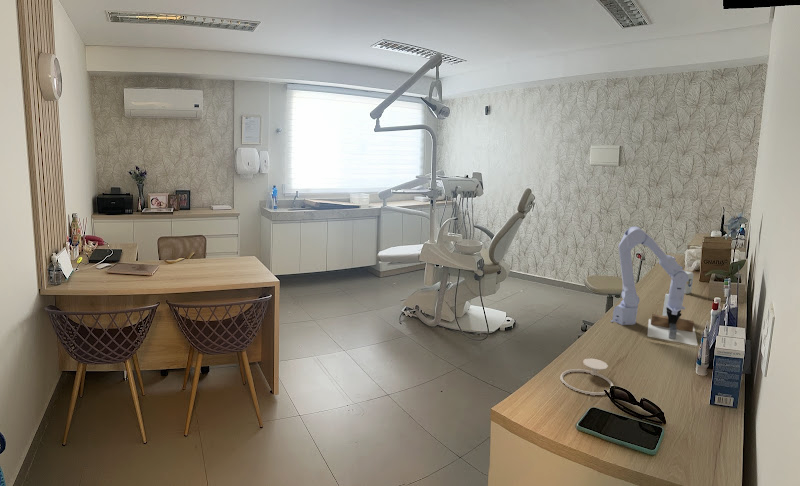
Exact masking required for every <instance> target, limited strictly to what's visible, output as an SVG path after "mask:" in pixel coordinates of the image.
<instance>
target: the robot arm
mask: <svg viewBox="0 0 800 486" xmlns="http://www.w3.org/2000/svg"><path fill="white" fill-rule="evenodd" d="M640 244H641V245H642V246H646V247H648V248H649V249H650V250H651V252H652V253H653V254H654V255H655V256H656V257H657V258H658V259H659V261H658V264H659V265H660V266H661V267H662V269H663V270H664V271H665V272H666V274H667V275H668V276H669V277H670V285H669V291H668V294H669V296H668V302H667V305H666V306H667V308H666V309H667V315H668V324H669V325H670V323H672V324H676V322H677V320H678V318H679V317H680V318H681V316H682V313H681V312H682V310H685V309H686V307H685V306H683V303H684V297H685V294H684V292H685V285H686V283H687V282H688V280H689V278H688V275H687V273H686V272H685V271H686V270H684V269H683V268H684V267H683V266H682V265H680V264H679V263H678V262H677V261H676V257H675V256H672V255H670V254H665V252H664V251H663V250H662V249H661V247H660V246H659V244H658V243H657V242H656V241H655V240H654V239H653V238H652V237H651V236H650V235H649V234H647V233H646V232H645V231H644V230H643V229H641V227H639V226H635V225H634V226H630V227H629V228H627V230H625V231H624V233H623V236H622V238H621V239H620V242H619V243H618V246H617V247H618V256H619V262H620V265H619V266H620V271H621V280H622V291H621V293H620V297H621V298H622V300H621V301H620V303H619V304H618V305H616V306H614V307H613V313H612V320H611V319H610V322H611V323H614V322H615V323H617V324H619V325H620V326H626V325H628V326H629V325H631V326H633V325H636V323H637V314H638V309H639V303H640V302H641V301H640V297H639V296H638V294H637V289H636V285H635V279H634V277H635V276H634V269H633V261H632V259H633V258H632V253H631V252H632V250H633V249H634V248H635V247H636V246H638V245H640ZM680 318H679V319H680Z"/></svg>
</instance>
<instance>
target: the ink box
mask: <svg viewBox="0 0 800 486" xmlns="http://www.w3.org/2000/svg"><path fill="white" fill-rule="evenodd" d="M684 271H685V272H686V273H687V275H688V278H689V280H688V282H687V283H686V285H685V292H684V295H689V294H692V289H693V282H694V276H695V275H694V272H691V271H689V270H688V271H687V270H684Z"/></svg>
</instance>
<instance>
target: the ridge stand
mask: <svg viewBox="0 0 800 486" xmlns="http://www.w3.org/2000/svg"><path fill="white" fill-rule="evenodd" d="M647 337H650V338H655V339H658V340H657V341H658V342H659V341H660V340H663V341H662V342H664V343H665V341H670V342H672V344H674V345H675V343H673V342H676V343H677V345H680V344H678V343H681V344H685V345H691V346H693V348H696V347H694V346H697V347H698V340H697V339H698V338H697V335H696V330H695V326H693V332H690V331H685V330H679V329H677V327H676V324H672V323H670V325H669V328H668V327H663V326H657V325H652V324H651V318H648V324H647ZM646 339H648V338H646ZM648 340H649V339H648ZM664 340H665V341H664ZM670 342H667V343H670ZM691 346H688V347H690V348H691Z"/></svg>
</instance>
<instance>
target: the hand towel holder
mask: <svg viewBox="0 0 800 486" xmlns="http://www.w3.org/2000/svg"><path fill="white" fill-rule="evenodd" d="M582 362H583V365H585V367H587V368H589V369H591V370H589V369H583V368H582V369H581V368H573V369H567V370H564V371H563V372H561V374H560V376H559V380H560V381H561V383H562V384H563V383H564V384H565V385H566V386H567V387H566V386H565V385H564V384H563V385H564V386H565V387H566V388H568V387H569V388H568V389H570V388H571V389H573V390H572V391H574V390H575V392H576V391H579V392H582V393H585V394H584V395H587V394H590V395H589V396H595V395H601V396H606V395H605V391H600V392H597V391H596V392H595V391H587V390H582V389H578V388H577V387H574V386H573V385H570V384H569V383H568V382H566V381H565V380H564V377H565V375H567V374H570V372H571V373H584V372H586V373H585V374H589V373H590V374H589V375H592V376H594V375H595V376H597V377H599V378H601V379H603V380H605V381H606V382H607V383H608V384H609V386H610V387H611V386H614V387H615V385H614V383H613V382H612V380H611V379H610V378H608V377H607V376H606V375H603V374H601V373H599V372H598V371H602V370H606V369H607V368H608V367H609V365H608V363H606V361H603V360H600V359H596V358H585V359H583V360H582ZM571 389H570V390H571ZM609 390H610V389H608V390H606V391H607V392H609ZM579 392H578V393H579ZM582 393H581V394H582Z"/></svg>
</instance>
